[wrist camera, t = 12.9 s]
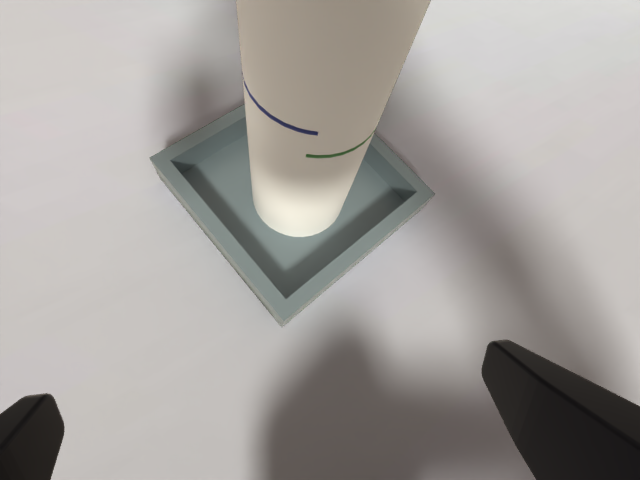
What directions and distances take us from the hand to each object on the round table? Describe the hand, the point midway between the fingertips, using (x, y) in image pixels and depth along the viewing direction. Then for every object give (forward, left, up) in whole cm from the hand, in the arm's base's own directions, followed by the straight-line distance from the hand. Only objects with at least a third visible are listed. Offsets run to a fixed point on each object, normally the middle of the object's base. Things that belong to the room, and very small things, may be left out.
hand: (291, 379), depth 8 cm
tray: (+10, -10, -19) cm, 23 cm away
